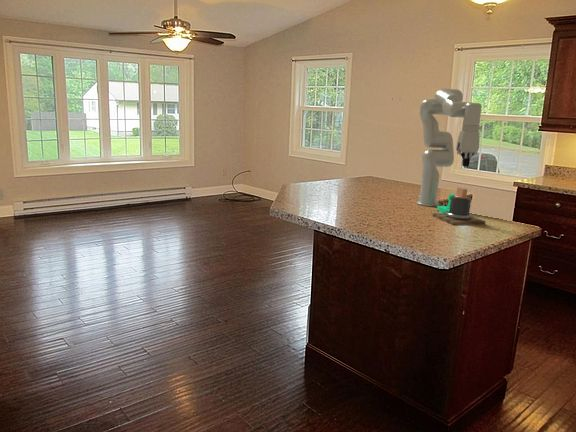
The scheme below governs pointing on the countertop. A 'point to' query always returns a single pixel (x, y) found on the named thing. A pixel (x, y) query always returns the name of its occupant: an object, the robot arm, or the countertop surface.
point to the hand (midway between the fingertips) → (465, 166)
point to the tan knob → (461, 193)
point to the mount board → (453, 221)
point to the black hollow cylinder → (459, 209)
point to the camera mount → (445, 208)
